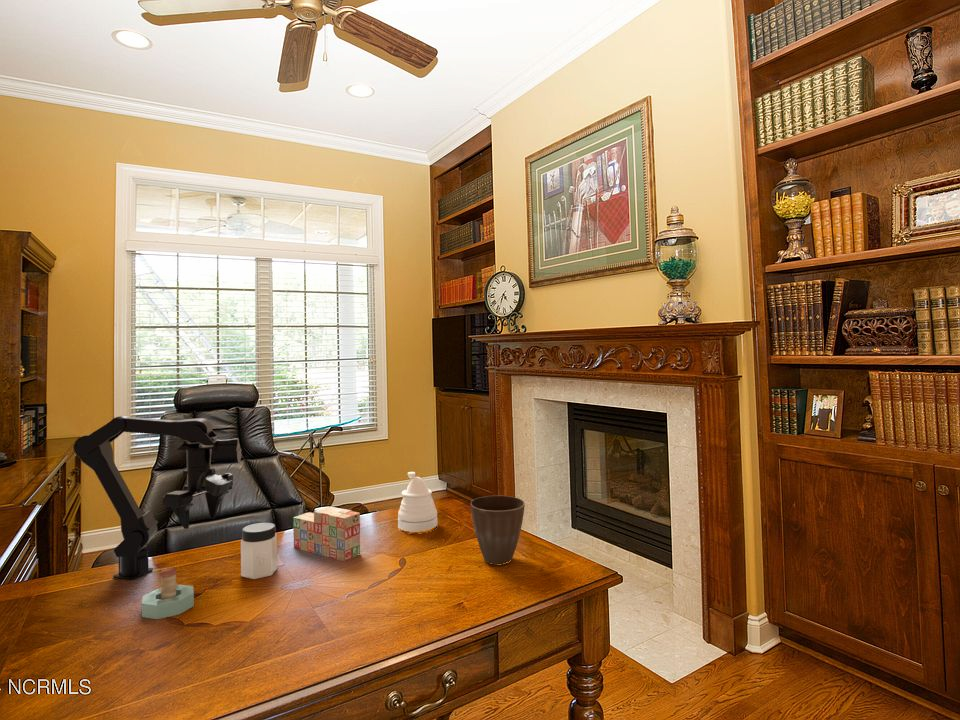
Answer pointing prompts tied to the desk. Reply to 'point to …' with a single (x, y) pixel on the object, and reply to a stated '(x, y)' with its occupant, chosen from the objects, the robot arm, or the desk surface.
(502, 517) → the plant pot
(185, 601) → the bead
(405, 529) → the honey pot
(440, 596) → the desk surface
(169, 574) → the beige cylindrical peg
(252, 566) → the jar
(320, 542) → the stack of blocks
